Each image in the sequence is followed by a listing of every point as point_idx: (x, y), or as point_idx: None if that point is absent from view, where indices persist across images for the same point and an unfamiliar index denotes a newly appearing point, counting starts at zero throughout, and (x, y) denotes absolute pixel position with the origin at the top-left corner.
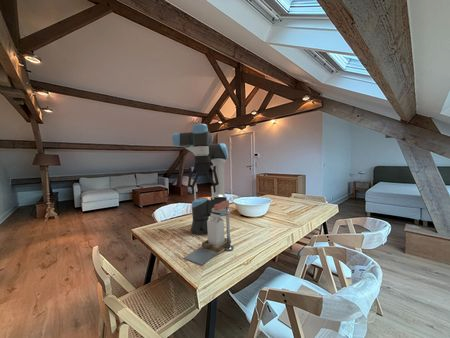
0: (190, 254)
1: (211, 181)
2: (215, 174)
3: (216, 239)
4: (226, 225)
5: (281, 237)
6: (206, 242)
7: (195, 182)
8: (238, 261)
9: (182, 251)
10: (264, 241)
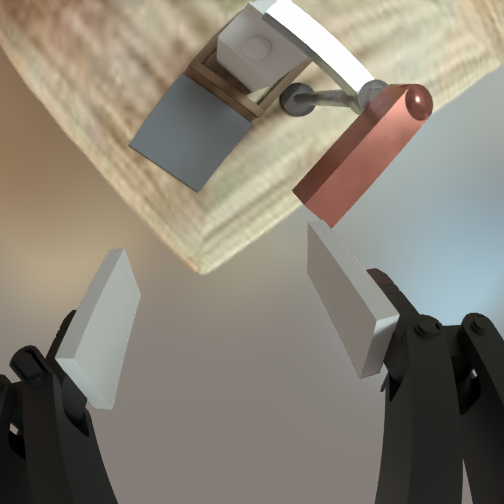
0: (150, 126)
1: (390, 444)
2: (489, 496)
3: (256, 89)
4: (326, 98)
5: (459, 89)
6: (208, 55)
7: (105, 480)
8: None
9: (116, 96)
10: None
